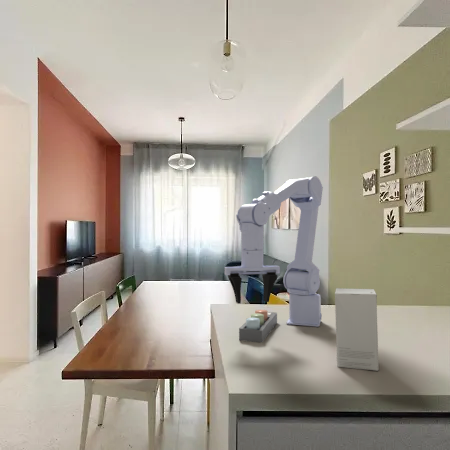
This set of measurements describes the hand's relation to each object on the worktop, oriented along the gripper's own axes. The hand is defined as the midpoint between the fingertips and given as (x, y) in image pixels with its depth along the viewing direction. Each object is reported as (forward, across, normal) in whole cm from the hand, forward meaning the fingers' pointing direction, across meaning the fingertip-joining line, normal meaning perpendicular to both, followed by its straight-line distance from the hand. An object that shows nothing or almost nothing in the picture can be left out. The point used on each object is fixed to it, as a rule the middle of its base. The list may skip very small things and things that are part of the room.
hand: (252, 302), depth 93 cm
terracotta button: (+7, -5, -8) cm, 12 cm away
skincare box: (+10, -16, +22) cm, 29 cm away
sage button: (+7, -3, -4) cm, 9 cm away
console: (+9, -4, -6) cm, 12 cm away
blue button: (+7, 0, 0) cm, 7 cm away
